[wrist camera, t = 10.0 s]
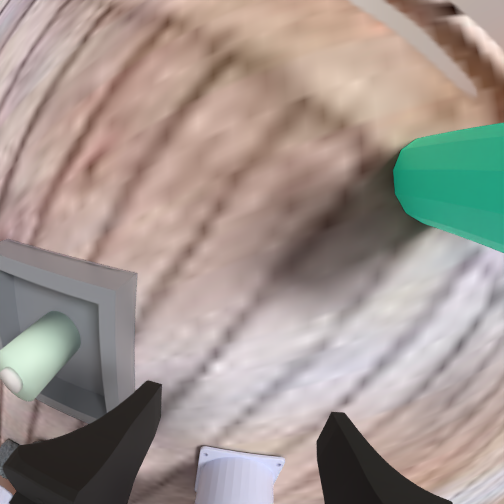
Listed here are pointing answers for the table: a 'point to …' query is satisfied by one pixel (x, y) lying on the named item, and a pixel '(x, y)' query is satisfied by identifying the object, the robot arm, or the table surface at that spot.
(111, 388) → the bin
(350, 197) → the table surface
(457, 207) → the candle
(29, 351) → the cylinder
